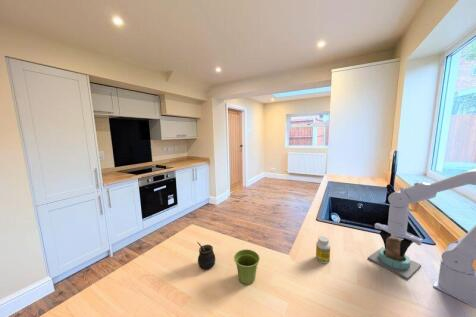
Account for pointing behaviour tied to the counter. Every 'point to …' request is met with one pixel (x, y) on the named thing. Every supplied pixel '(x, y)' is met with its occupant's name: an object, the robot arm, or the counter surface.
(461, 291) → the robot arm
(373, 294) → the counter surface
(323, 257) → the supplement bottle
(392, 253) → the walnut peg
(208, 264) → the mate gourd
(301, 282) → the counter surface
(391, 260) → the collar
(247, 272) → the plant pot
